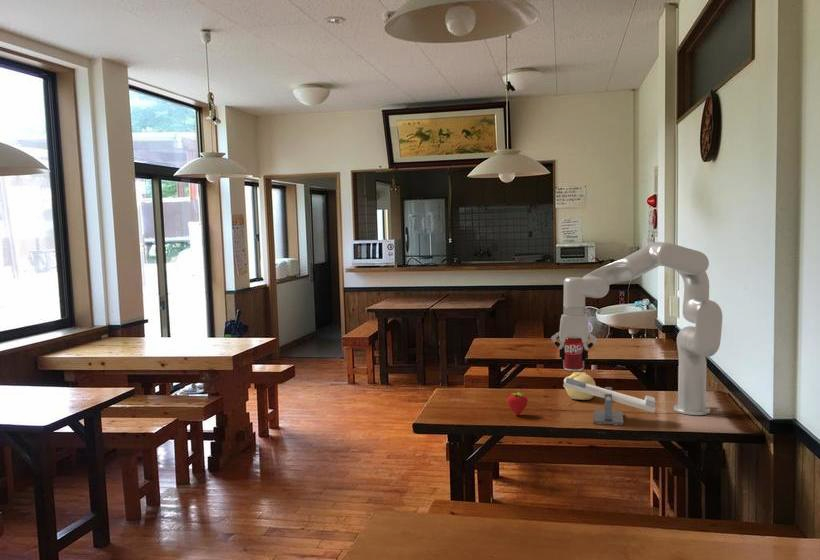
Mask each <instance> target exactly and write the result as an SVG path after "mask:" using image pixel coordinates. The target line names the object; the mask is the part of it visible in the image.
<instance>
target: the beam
mask: <svg viewBox="0 0 820 560" xmlns="http://www.w3.org/2000/svg"><path fill="white" fill-rule="evenodd" d="M564 379H565V381H564V380H563V384H562V385H563V386H562V387H567V388H570V389H574V390H577V391H581V392H584V393H588V394H591V395H594V396H593V397H599V398H603V399H605V394H612V402H616V403H620V404H622V405H626V406H629V407H632V408H636V409H640V410H643V411H646V412H651V413H654V414H655V412H656V409H657V408H656V399H655V397H653V396H649V395H645V398H644V399H642V398H638V397H635V396H633V395H628V394H624V393H621V392H618V391H614V390H612V391H611V390H607V389H605V387H604V388H603V387H600V386H598V385H596V386H593V385H590V384H586V383H584V382H580V381H577V380H573V379H570V378H566V377H565V378H564Z"/></svg>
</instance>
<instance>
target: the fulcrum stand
mask: <svg viewBox="0 0 820 560" xmlns="http://www.w3.org/2000/svg"><path fill="white" fill-rule="evenodd" d="M604 389H607V390H611V391H613V387H611V386H605V387H604ZM594 423H602V424H601V425H604V424H617V425H616V426H619V425H623V426H624V412H623V411H619V410H613V401H612V394H605V398H604V409H603V410H602V409H594V411H593V424H594Z"/></svg>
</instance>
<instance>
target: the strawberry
mask: <svg viewBox="0 0 820 560" xmlns="http://www.w3.org/2000/svg"><path fill="white" fill-rule="evenodd" d="M517 390H518V392H514V393H513V392H512V393H510V395H509V396H508V397H507V400H506V402H507V405H508V407H509V408H510V410H511V411H512V412H513V413H514V414H515V415H516V416H520V415H521V413H523V411H525V409H526V407H527V405H528V398H527V397H526V396H525V395H526V394H524V393H522V392H520V391H519V388H517Z"/></svg>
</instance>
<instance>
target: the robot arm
mask: <svg viewBox="0 0 820 560" xmlns="http://www.w3.org/2000/svg"><path fill="white" fill-rule="evenodd" d="M660 266H661V267H665V268H668V269H673V270H674V271H676V272H677V273H678V274H679V275H680V276H681V278H682V282H683V284H684V285H683V289H684V290H683V291H684V292H683V303H682V316H683V318H684V320H686V321H687V322H689V323H692V324H695V326H693V325H690V326H685V327H683V328H681V329H680V330H679V331H678V333H677V336H676V348H677V355H678V374H677V375H678V376H677V377H678V382H677V383H678V385H677V387H678V388H677V392H678V394H677V399H678V400H677V404H675V405H673V410H674V412H677V413H679V414H683V415H689V416H705V415H709V414H710V413H711V409H710V408H709V406H706V405H707V402H708V401H709V397H707V365H708V364H707V358H709V357H712V356H714V355H715V354H716V353H718V351H719V349H720V345H721V339H722V327H723V311H722V309H721V307H720V305H719V304H718V303H717V302H715V301H713V300H711V299H710V280H709V279H710V278H709V276H708V273H707V270H708V269H709V266H710V262H709V258H708V256H707V255H706V254H705V253H704V252H702V251H699V250H695V249H692V248H689V247H685V246H682V245H678V244H675V243H672V242H664V241H656V242H651V243H649V244H647V245H646V246H643V247H642V248H640V249H638V250H636V251H635V252H632V253H630V254H629V255H627V256H625V257H622V258H621V259H617V260H615V261H612V262H611V263H608V264H606V265H603V266H601V267H599V268H597V269H594V270H593V271H591V272H589V273H587V274H585V275H584V276H582V277H579V276H578V277H575V276H570V277H566V278H565V279H564V280H563V309H562V310H563V314H561V317H560V320H559V322H560V323H559V331H558V332H556V333H555V334H553V335H552V336H551V337H550V340H551V341H552V343H554V345H555V346H556V347H557V348H558V350H559V358H560V360H561V361H563V359H564V349H563V348H564V342H565V338H567V337H571V338H581V339H582V343H583V346H584V362H587V360H588V358H589V349H591V348H592V347H593V346H594V345H595V344H596V342H597V341H598V338H597V337H596V336H594V335H593V334H592V333H591V332H590V331H589V321H588V320H589V319H588V315H587V314H586V313H590V309H589V308H587V307H586V298H592V299H601V298H604V297H605V296H607V294H608V293H609V291H610V285H612V284H616V283H620V282H628V281H632V280H635V279H638V278H639V277H641V276H643V275H644V274H647V273H648V272H651V271H653V270H655V269H656V268H658V267H660ZM557 338H559V341H560V342H559V341H558V340H557ZM589 338H590V339H591V341H590V342H589ZM588 342H589V343H588Z"/></svg>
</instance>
